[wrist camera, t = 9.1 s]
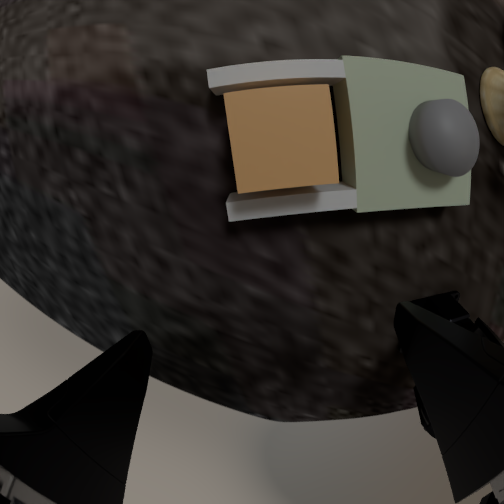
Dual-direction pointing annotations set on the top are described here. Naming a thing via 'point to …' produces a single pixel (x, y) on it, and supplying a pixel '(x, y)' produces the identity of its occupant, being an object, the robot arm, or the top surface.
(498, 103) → the hand bell
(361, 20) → the top surface
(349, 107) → the two-pronged gray clamp
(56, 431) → the robot arm
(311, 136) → the cardboard shipping carton
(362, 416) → the top surface
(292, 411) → the top surface
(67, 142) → the top surface
